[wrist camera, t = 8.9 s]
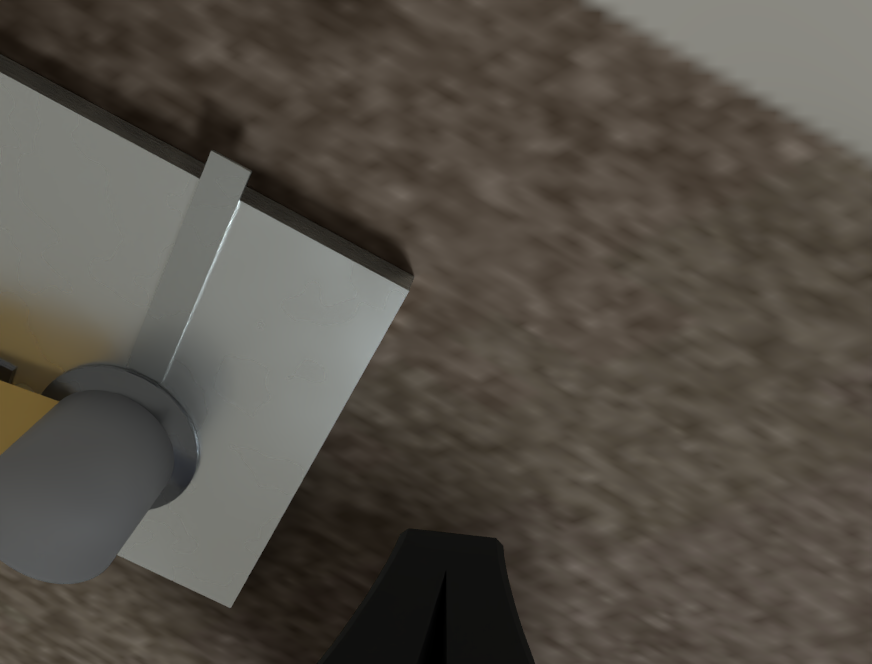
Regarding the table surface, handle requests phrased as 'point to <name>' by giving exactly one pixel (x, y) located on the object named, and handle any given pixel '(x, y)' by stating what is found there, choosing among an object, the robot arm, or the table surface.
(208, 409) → the base
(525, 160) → the table surface
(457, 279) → the table surface
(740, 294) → the table surface
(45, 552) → the handle
